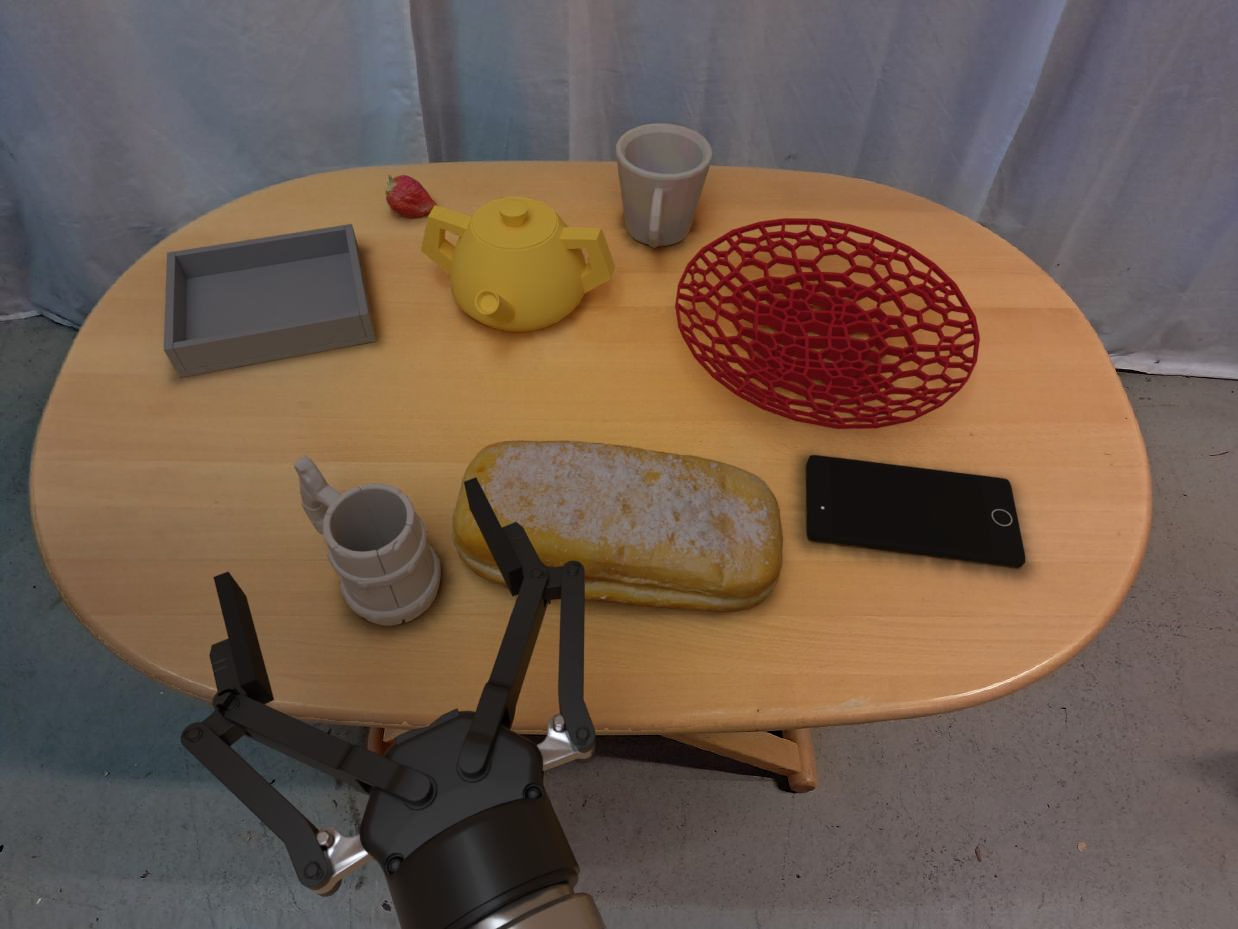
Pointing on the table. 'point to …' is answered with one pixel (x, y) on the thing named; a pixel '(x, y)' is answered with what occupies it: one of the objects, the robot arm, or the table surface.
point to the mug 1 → (373, 546)
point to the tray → (265, 300)
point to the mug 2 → (661, 180)
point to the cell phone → (912, 510)
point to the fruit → (408, 197)
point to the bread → (631, 522)
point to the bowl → (824, 327)
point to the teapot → (517, 262)
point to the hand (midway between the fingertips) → (356, 537)
